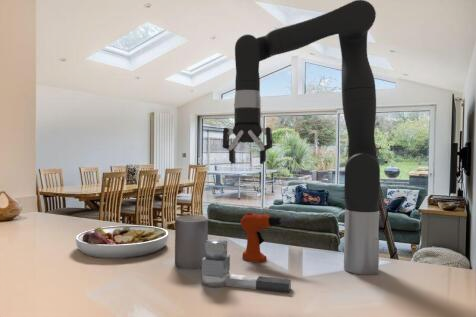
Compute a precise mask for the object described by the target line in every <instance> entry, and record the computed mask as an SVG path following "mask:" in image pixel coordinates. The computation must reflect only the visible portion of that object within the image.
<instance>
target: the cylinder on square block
mask: <svg viewBox="0 0 476 317" xmlns="http://www.w3.org/2000/svg"><path fill="white" fill-rule="evenodd" d="M230 257H231V254H230V255H229V254H228V241H227V240H226V239H220V238H213V239H212V238H211V239H208V240H207V241H205V257H204V258H203V259H202V267H201V276H202V275H205V276H215V277H224V276H225V275H226V274H227V273H228V272H229V273H230V270H231V269H230V268H231V267H230V266H231V265H230V264H231V262H230V261H231V258H230Z"/></svg>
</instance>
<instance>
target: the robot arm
mask: <svg viewBox="0 0 476 317" xmlns="http://www.w3.org/2000/svg"><path fill="white" fill-rule="evenodd" d="M376 14H377V13H376V9H375V7H374V6H373V4H371V3H370V2H369V1H367V0H353V1H351V2H349V3H347V4H344V5H342V6H340V7H338V8H335V9H333V10H330V11H329V12H327V13H324V14H321V15H318V16H315V17H312V18H309V19H306V20H303V21H299V22H296V23H293V24H290V25H289V24H288V25H285V26H281V27H278V28H274V29H272V30H270V31H268V32H267V33H266V34H265V35H262V36H259V37H255V36H254V35H252V34H249V33H247V34H243V35H241V36H239V37H238V38H237V40H236V42H235V45H234V59H235V61H234V62H235V81H234V82H235V89H234V91H235V92H234V93H235V94H234V104H233V107H234V117H233V118H234V123H233V125H234V126H233V128H231V127H230V128H229V127H224V128H223V132H222V133H223V135H222V148H223V149H226V150H227V151H228V161H229V162H230V163H231V164H232V165H233V164H236V150H235V149H236V148H237V147H238V146H239V145H240V143H243V144H244V143H249V144H250V143H252V144H253V143H255V145H256V146H258V148H259V149H260V151H259V164H260V165H264V163H265V162H266V161H267V150H270V149H272V148H273V133H272V132H273V130H272V127H269V126H267V127H262V126H261V116H262V114H261V110H262V108H261V106H262V105H261V101H262V100H261V99H262V98H261V92H260V90H261V88H260V87H261V84H260V83H261V77H260V62H262V61H264V60H267V59H269V58H271V57H274V56H277V55H282V54H285V53H289V52H292V51H296V50H299V49H302V48H304V47H307V46H309V45H311V44H313V43H315V42H317V41H320V40H323V39H326V38H328V37H331V36H335V35H338V39H339V41H338V42H339V46H340V54H341V99H342V100H341V103H342V111H343V118H344V122H345V127H346V131H347V137H348V138H347V139H348V140H347V141H348V146H347V149H348V151H347V161H346V164H345V167H344V231H343V232H344V235H343V236H344V238H343V241H344V242H343V243H344V244H343V270H345V271H347V273H352V274H357V275H366V276H367V275H379V263H380V262H379V259H380V254H379V252H380V239H379V225H380V224H379V223H380V222H379V219H380V218H379V217H380V216H379V215H380V190H381V189H380V188H381V187H380V184H381V182H380V181H381V167H380V164H379V160H378V155H377V154H378V153H377V148H376V142H375V141H376V140H375V128H376V119H377V90H376V82H375V77H374V73H373V69H372V67H371V64H370V61H369V58H368V33H369V30H370V29H371V28H372V27H373V25H374V23H375V20H376V17H377V16H376ZM262 133H263V135H264V136H265V140H266V145H265V144H264V143H263V141H262V140H261V138H260V136H261V134H262ZM232 134H234V136H235V138H234V139H233V140H232V142H231V144H230V136H232Z"/></svg>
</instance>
